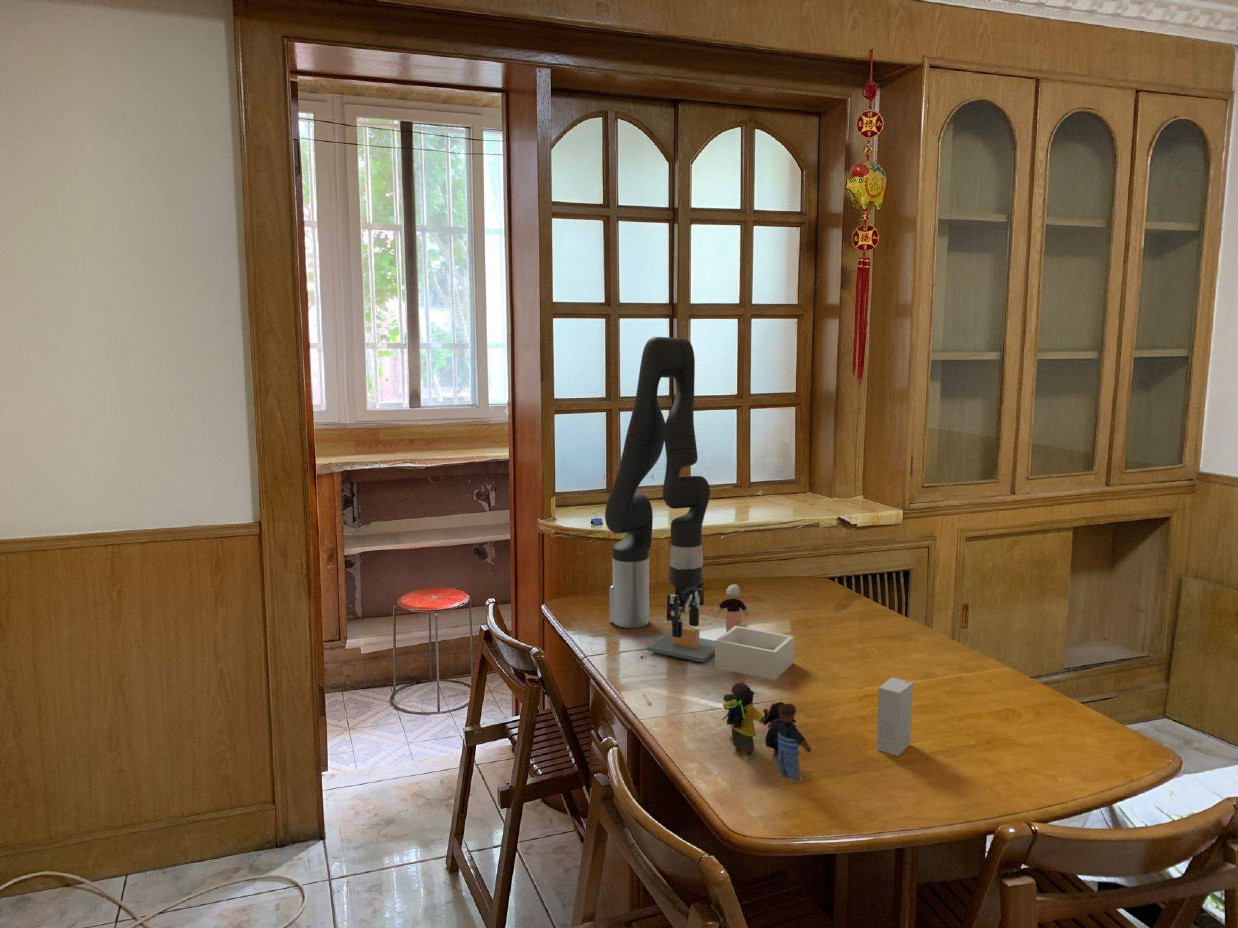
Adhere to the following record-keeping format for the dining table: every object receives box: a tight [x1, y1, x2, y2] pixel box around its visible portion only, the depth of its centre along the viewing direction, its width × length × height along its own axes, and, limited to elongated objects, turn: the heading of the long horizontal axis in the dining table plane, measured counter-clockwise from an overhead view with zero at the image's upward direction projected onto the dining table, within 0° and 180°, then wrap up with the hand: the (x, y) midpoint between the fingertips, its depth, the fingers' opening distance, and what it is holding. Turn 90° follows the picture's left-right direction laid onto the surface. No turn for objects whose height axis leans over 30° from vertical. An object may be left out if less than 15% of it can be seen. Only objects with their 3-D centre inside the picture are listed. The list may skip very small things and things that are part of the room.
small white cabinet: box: [714, 626, 795, 681], centre depth 198 cm, size 14×11×7 cm
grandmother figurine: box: [716, 583, 750, 632], centre depth 219 cm, size 8×4×13 cm, turn 84°
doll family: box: [721, 682, 812, 784], centre depth 157 cm, size 23×9×13 cm, turn 45°
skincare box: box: [876, 677, 914, 757], centre depth 161 cm, size 6×4×12 cm
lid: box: [646, 625, 715, 663], centre depth 207 cm, size 14×11×6 cm
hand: (685, 631), depth 206 cm, fingers open, 8 cm apart
